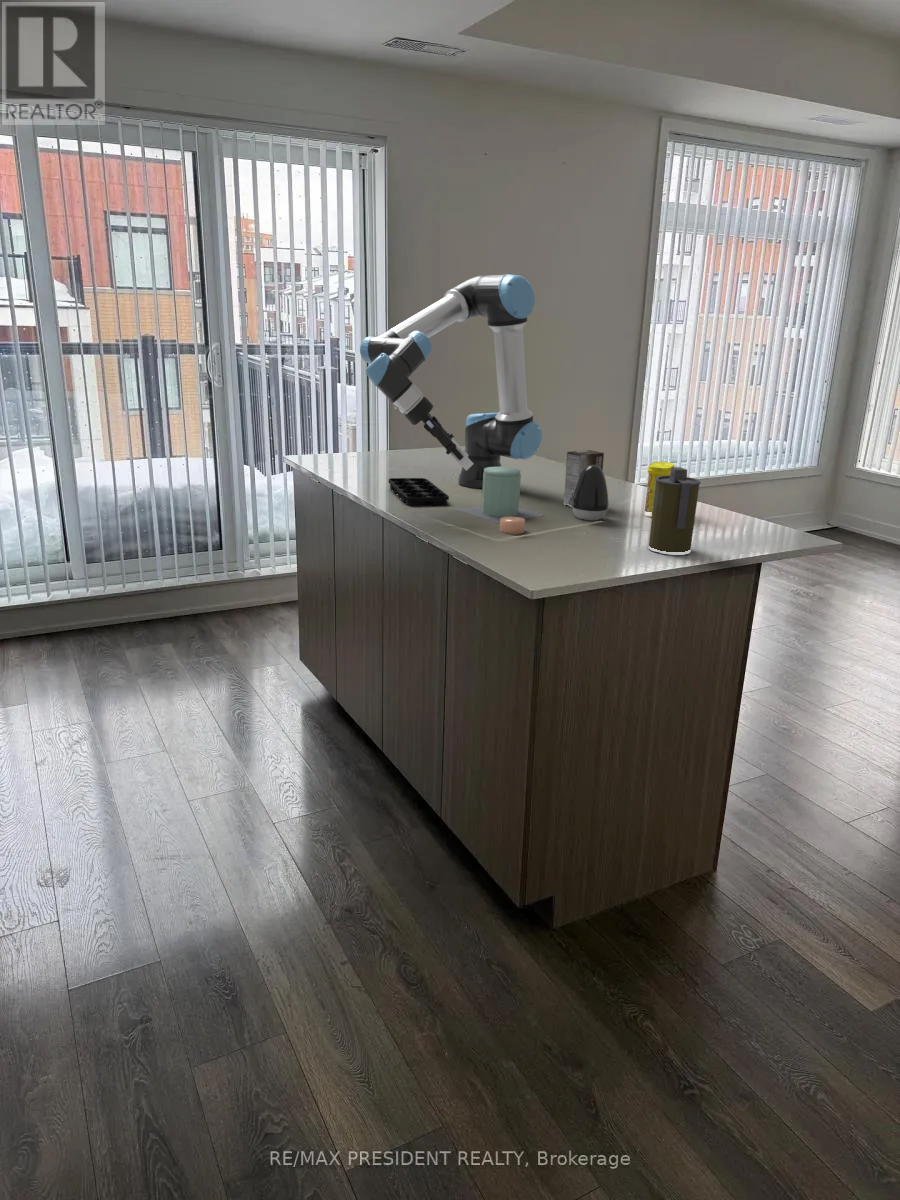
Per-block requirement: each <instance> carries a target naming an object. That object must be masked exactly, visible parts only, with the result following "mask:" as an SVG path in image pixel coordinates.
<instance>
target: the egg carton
mask: <svg viewBox="0 0 900 1200" xmlns="http://www.w3.org/2000/svg"><path fill="white" fill-rule="evenodd" d="M388 484H389V487H390V489H391V490H393V491H392V492H394V493H395V494H398V495H397V497H399V498H401V499H400V500H401V502H402V501H403V502H404V503H403V502H402V503H403V504H405V503H406V504H405V505H406V506H409V507H420V506H422V507H424V506H426V505H429V506H447V503H448V501H449V499H450V497H449V495H448V494H447V493H445V492H444V491H443V490H441V488H439V487H438V486H436V485H435V484H434V483H433V482H432V481H430V480H429V479H427V478H425V477H424V478H423V477H398V478H397V477H395V478H393V477H392V478H388ZM391 490H390V491H391ZM395 494H394V495H395ZM399 498H398V499H399Z"/></svg>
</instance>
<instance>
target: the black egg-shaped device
mask: <svg viewBox="0 0 900 1200" xmlns="http://www.w3.org/2000/svg"><path fill="white" fill-rule="evenodd" d="M603 471H604V470H603ZM603 471H602V470H601V468H600V467H598V466H597V465H589V466H587V467H586V468H585V469H584V470H583V471H582V473H581V475H580V476H579V479H578V481H577V484H576V487H575V490H574V493H573V497H572V502H571V506H572V508H571V509H572V512H573V514H574V516H575V518H577V519H579V520H583V519H584V520H585V521H599V519H600V520H602V518H604V517H605V514H607V511H608V509H609V505H610V504H609V501H610V500H609V492H608V491H609V489H608V485H607V484H608V483H607V479H606V477H605V474H604V472H603Z"/></svg>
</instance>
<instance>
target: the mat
mask: <svg viewBox="0 0 900 1200" xmlns="http://www.w3.org/2000/svg"><path fill="white" fill-rule="evenodd" d="M455 511H456V512H459V513H463V514H467V515H470V516H473V517H476V518H480V519H482V520H485V521H489V522H492V523H495V524H500V519H501V518H502V517H497V516H489V515H486V514H483V513H482V505H479V506H471V507H466V508H458V509H455ZM543 516H545V514H543V513H540V512H536V511H532V510H530V509H529V510H528V509H525V508H522V507H519V513H518V514H517V515H516V516H510V517H520V518H523V519H525V520H526V519H530V518H537V517H543Z"/></svg>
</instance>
